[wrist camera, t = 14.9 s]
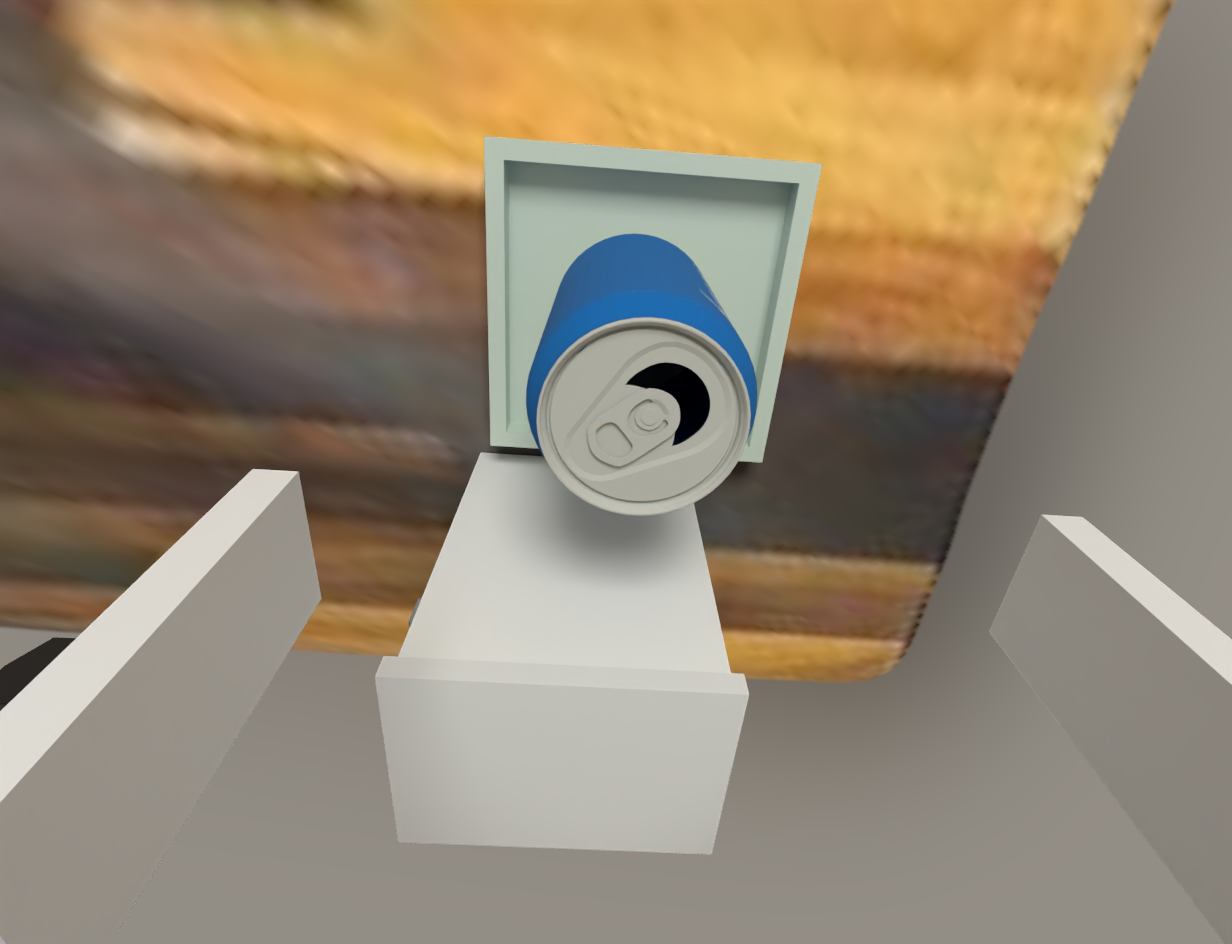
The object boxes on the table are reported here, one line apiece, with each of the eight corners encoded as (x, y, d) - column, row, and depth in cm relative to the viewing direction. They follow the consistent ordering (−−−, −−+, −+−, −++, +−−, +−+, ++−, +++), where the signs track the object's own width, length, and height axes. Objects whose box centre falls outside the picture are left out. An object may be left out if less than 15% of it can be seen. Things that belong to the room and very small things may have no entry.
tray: (496, 429, 31) (490, 445, 29) (492, 136, 25) (483, 136, 23) (754, 445, 31) (762, 462, 30) (808, 162, 25) (822, 164, 24)
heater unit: (474, 573, 35) (392, 842, 22) (470, 446, 31) (367, 676, 18) (677, 584, 35) (715, 854, 22) (695, 460, 32) (754, 694, 18)
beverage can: (736, 327, 28) (811, 449, 17) (615, 409, 30) (615, 565, 19) (652, 196, 25) (678, 244, 15) (525, 293, 27) (467, 399, 17)
